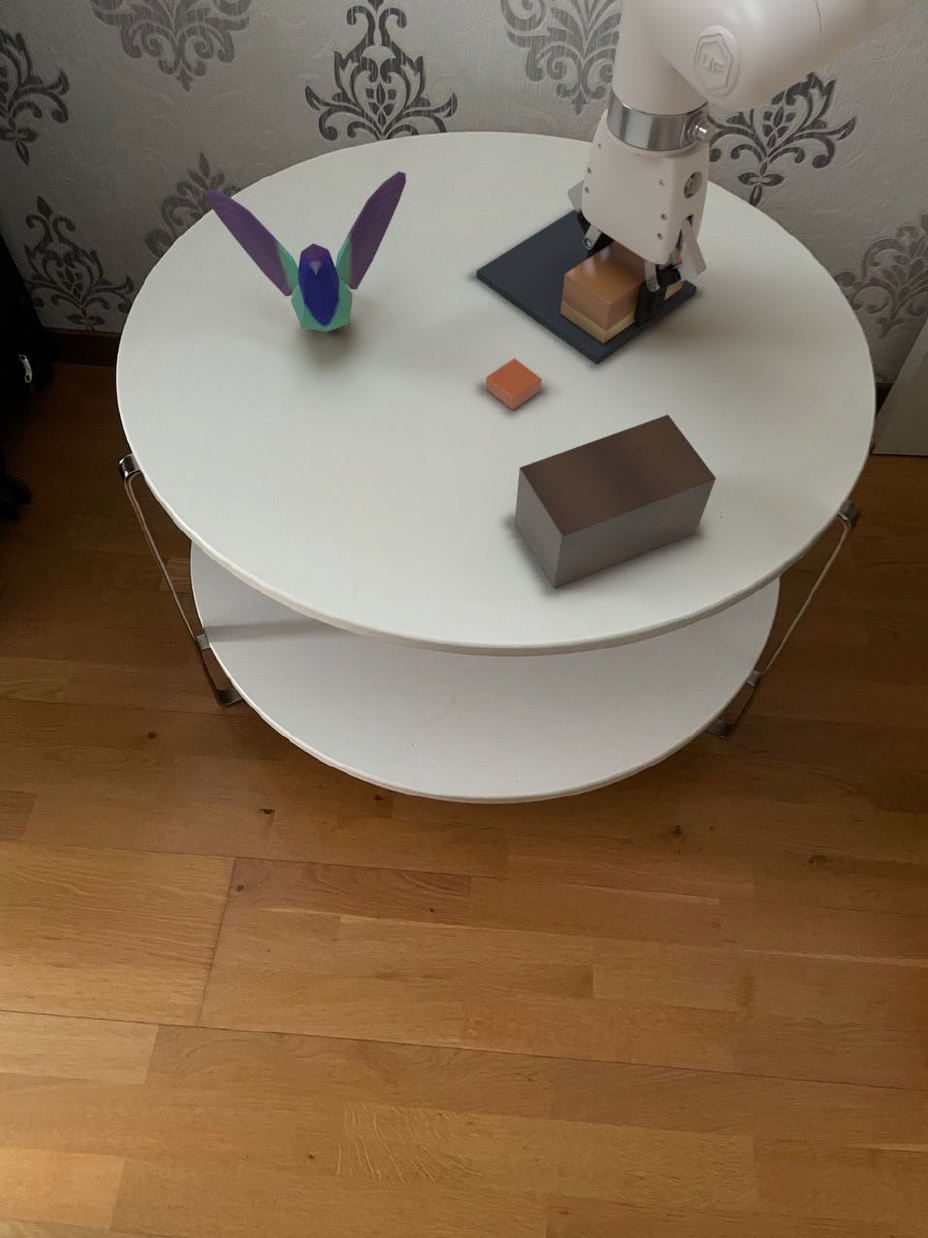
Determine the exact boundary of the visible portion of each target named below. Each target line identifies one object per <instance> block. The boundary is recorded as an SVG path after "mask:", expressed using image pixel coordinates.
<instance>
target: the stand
mask: <svg viewBox="0 0 928 1238" xmlns="http://www.w3.org/2000/svg"><path fill="white" fill-rule="evenodd" d="M698 453H699V452H697V451H696V450H695V448H694V447H693V446H692V444H691V443H690V442H689V440H688V439H687V437H686V436H685V435H684V433H683V432H682V431H681V429H680V428H679V427H678V425H677V424H676V423H675V422H674V420H673V419H672V418H671V416H670V415H669V414H666V415H662V416H660V417H657V418H655V419H651V420H649V421H646V422H644V423H640V424H637V425H635V426H632V427H629V428H627V429H624V430H621V431H618V432H615V433H612V434H609V435H607V436H605V437H601V438H599V439H595V440H593V441H590V442H587V443H584V444H581V445H578V446H576V447H573V448H570V449H567V450H565V451H562V452H559V453H557V454H553V455H551V456H548V457H545V458H543V459H539V460H537V461H533V462H531V463H529V464H526V465H523V466H520V467H519V470H518V480H517V483H518V484H517V492H516V504H515V512H514V513H515V514H514V524H515V526H516V527H517V529H518V531H519V533H520V534H521V535H522V538H523V540H524V541H525V542H526V545H527V546H528V549H530V551H531V553H532V554H533V557H534V558H535V559H536V561H537V563H538V564H539V566H540V568H541V570H542V571H543V573H544V575H545V576H546V578H547V580H548V581H549V583H550V584H551V587H552V588H553V589H556V588H559V587H561V586H564V585H566V584H569V583H572V582H574V581H577V580H580V579H581V578H584V577H587V576H590V575H592V574H594V573H597V572H600V571H602V570H605V569H608V568H611V567H612V566H614V565H617V564H620V563H623V562H625V561H628V560H630V559H633V558H635V557H637V556H640V555H643V554H645V553H648V552H651V551H654V550H656V549H658V548H661V547H664V546H666V545H668V544H671V543H673V542H676V541H679V540H681V539H684V538H687V537H689V536H692V535H694V534H696V533H697V531H698V528H699V525H700V523H701V520H702V518H703V515H704V512H705V509H706V507H707V504H708V502H709V499H710V496H711V493H712V491H713V487H714V486H715V482H716V479H717V477H716V476H715V475H714V473H713V472H712V471H711V469H710V467H708V465H707V463H706V462H704V460H703V458H702V457H701V456H700V455H699V454H698Z"/></svg>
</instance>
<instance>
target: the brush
mask: <svg viewBox="0 0 928 1238" xmlns="http://www.w3.org/2000/svg"><path fill="white" fill-rule="evenodd" d="M675 252H676V264H678V263H680V262H682V261H681V258H680V256H679V253H678V250H677V248H676V246H675ZM661 269H662V265H660V264H659V270H661ZM645 283H646V275H645V265H644V258H642V257H641V256H639V255H638V254H636V253H634V252H633V251H631V250H630V249H628V248H627V247H625V246H623V245H622V244H620V243H619V242H617V241H614V242H613V243H611V244H610V245H608V246H607V247H605V248H604V249H602V250H601V251H599V252H598V253H596V254H595V255H593V256H591V257H590V258H588V259H587V260H585V261H584V262H582V263H581V264H579V265H578V266H576V267H575V268H573V269H572V270H570V271H569V272H567V273H566V274H565V277H564V286H563V294H562V303H561V311H560V313H561V314H562V315H563V316H565V317H566V318H568V319H569V320H570V321H572V322H573V323H575V324H576V325H577V326H579V327H580V328H582V329H583V330H584V331H586V332H587V333H589V334H590V335H591V336H593V337H594V338H596V339H597V340H599V341H600V342H601V343H603V344H604V343H605V342H607V341H608V340H609V339H611V338H612V337H614V336H615V335H617V334H618V333H619V332H621V331H622V330H624V329H625V328H626V327H628V326H629V325H631V324H632V323H633V322H635V320H634V315H635V310H636V305H637V300H638V295H639V290H640V287H641V286H642V285H643V284H645ZM682 284H683V281H678V282H677V283H675V284H672V285H669V286H668V288H667V292H666V296H665V300H666V299H667V298H669V297H670V296H672V295H673V294H674V293H676V292H677V291H679V290H680V289H681V288H682Z"/></svg>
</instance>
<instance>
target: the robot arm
mask: <svg viewBox="0 0 928 1238" xmlns="http://www.w3.org/2000/svg"><path fill="white" fill-rule="evenodd" d="M922 1H923V0H622V4H621V13H620V19H619V26H618V33H617V39H616V40H617V41H616V48H615V55H614V61H613V62H614V63H613V68H612V69H613V70H612V76H611V84H610V92H609V98H608V105H607V108H606V109H605V110H604V111H603V113H602V114H601V118H600V120H599V123H598V125H597V128H596V131H595V133H594V136H593V141H592V143H591V147H590V149H589V154H588V159H587V162H586V166H585V173H584V177H583V178H584V179H582V180H581V181H579V182H578V183H577V184H575V185H573V186H572V187H571V188H569V189H568V190H567V192H566V193H567V194H566V195H567V198H568V199H569V201H570V203H571V205H572V207H573V210H574V209H575V211H576V212H578V214H577V219H578V221H579V224H580V226H581V228H582V230H583V232H584V235H585V237H584V239H583V244H584V246H585V247H586V248H587V249H588V255H587V259H588V258H590V257H591V256H593V255H595V254H596V253H598V252H599V251H601V250H602V249H604V248H605V247H607V246H608V245H610V244H611V243H613V242H614V241H617V242H619V243H620V244H622V245H623V246H625V247H627V248H628V249H630V250H631V251H633V252H634V253H636V254H638V255H639V256H641V257H642V258H644V265H645V275H646V283H645V284H643V285H642V286H641V287H640V290H639V295H638V300H637V305H636V310H635V315H634V320H635V321H636V322H637V323H639V324H640V323H642V322H643V321H645V320H646V319H647V318H649V317H650V316H655V315H656V314H657V313H659V312H660V311H661V309H662V307H663V305H664V301H665V296H666V292H667V288H668V286H669V285H672V284H675V283H677V282H678V281H684V280H687V281H689V280H692V279H695V278H697V277H698V276H700V275H701V274H703V273H704V272H705V271H706V270H707V264H706V262H705V260H704V257H703V253H702V251H701V248H700V246H699V243H698V237H699V233H700V229H701V225H702V220H703V216H704V210H705V204H706V198H707V191H708V183H709V172H710V171H709V169H710V142H711V140H712V139H713V137H714V135H715V133H716V128H717V127H716V125H715V124H712V123H711V122H710V121H709V118H707V116H708V111H709V107H710V104H711V105H713V106H714V107H717V108H718V109H719V110H720V109H721V110H722V111H726V112H729V113H730V112H731V113H742V112H746V111H750V110H753V109H755V108H757V107H759V106H761V105H763V104H765V103H766V102H768V101H769V100H771V99H773V98H774V97H776V96H777V95H780V93H783V92H784V91H786V90H787V89H788V88H791V87H792V86H794V85H795V84H796V83H798V82H799V81H800V80H802V79H803V78H805V77H807V76H808V75H810V74H812V73H813V72H815V71H816V70H819V68H821V67H823V66H824V65H826V64H828V63H830V62H831V61H833V60H834V59H836V58H838V57H839V56H841V55H842V54H844V53H846V52H847V51H848V50H850V49H851V48H853V47H855V46H856V45H858V44H859V43H861V42H863V40H865V39H866V38H868V37H870V36H871V35H873V34H874V33H875V32H877V31H878V30H880V29H881V28H883V27H884V26H886V25H888V24H889V23H891V22H893V21H894V20H895V19H896V18H898V17H900V16H901V15H903V14H904V13H906V12H907V11H909V10H910V9H911V8H914V7H915V6H916V5H918V4H919V3H921V2H922ZM675 246H676V248H677V250H678V253H679V256H680V258H681V261H682V262H680V263H678V264H676V252H675ZM659 264H660V265H662V269H661V270H659Z"/></svg>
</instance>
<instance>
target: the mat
mask: <svg viewBox="0 0 928 1238" xmlns="http://www.w3.org/2000/svg"><path fill="white" fill-rule="evenodd" d="M577 214H578V212H576V211H575V209H574V208H573V210H571V211H570V212H568V213H567V214H565V215H563V216H562V217H560V218H558V219H556V220H555V221H554V222H552V223H550V224H549V225H547V226H546V227H544V228H543V229H541V230H539V231H537V232H536V233H534V234H533V235H531V236H530V237H527V238H526V239H524V240H523V241H522V242H520V243H519V244H517V245H515V246H514V247H512V248H510V249H509V250H507V251H506V252H504V253H502V254H501V255H499V256H498V257H496V258H494V259H492V260H491V261H490V262H488V263H486V264H485V265H483V266H481V267H480V268H479V269H477V270H476V278H477V279H479V280H480V281H482V283H484V284H485V285H487V286H488V287H489V288H491V289H492V290H494V291H495V292H497V293H498V294H499V295H501V296H502V297H503V298H504V299H506V300H508V302H510V303H511V304H513V305H515V306H516V307H517V308H518V309H520V310H521V311H523V312H524V313H526V314H527V315H528V316H530V317H531V318H532V319H534V320H535V321H536V322H538V323H539V324H540V325H542V326H543V327H545V328H546V329H547V330H549V331H550V332H552V333H553V334H554V335H556V336H557V337H558V338H560V339H561V340H562V341H564V342H565V343H566V344H568V345H569V346H571V347H572V348H573V349H575V351H576V350H577V351H578V352H579V353H580V354H582V355H583V356H585V357H586V358H588V359H589V360H590V361H591V362H593V363H594V364H596V365H598V364H599V363H601V362H602V361H603V360H605V359H606V358H607V357H609V356H610V355H612V354H613V353H615V352H616V351H617V350H618V349H620V348H622V347H623V346H625V344H627V343H629V342H630V341H631V340H633V339H634V338H636V337H637V336H638V335H639V334H641V333H642V332H644V331H645V330H646V329H648V328H649V327H651V326H652V325H654V324H655V323H657V322H658V321H659V320H660V319H662V318H663V317H665V316H666V315H668V314H669V313H670V312H672V311H673V310H674V309H676V308H678V306H680V305H682V304H683V303H684V302H685V301H687V300H689V298H691V297H692V296H694V295H695V294H696V293H697V289H698V286H696V285H695V284H693V283H692V282H690V281H689V280H684V281H683V284H682V288H681V289H680V290H679V291H677V292H676V293H674V294H673V295H672V296H670V297H669V298H667V299H666V300H665V301H664V305H663V307H662V309H661V311H660V312H659V313H657V314H656V315H655V316H650V317H649V318H647V319H646V320H645V321H643V322H642V323H640V324H639V323H637V322H636V321H635V322H633V323H632V324H631V325H629V326H628V327H626V328H625V329H624V330H622V331H621V332H619V333H618V334H617V335H615V336H614V337H612V338H611V339H609V340H608V341H607V342H605V343H604V344H603V343H601V342H600V341H599V340H597V339H596V338H594V337H593V336H591V335H590V334H589V333H587V332H586V331H584V330H583V329H582V328H580V327H579V326H577V325H576V324H575V323H573V322H572V321H570V320H569V319H568V318H566V317H565V316H563V315H562V314H561V313H560V311H561V303H562V294H563V286H564V277H565V274H566V273H567V272H569V271H570V270H572V269H573V268H575V267H576V266H578V265H579V264H581V263H582V262H584V261H585V260H587V255H588V249H587V248H586V247H585V246H584V244H583V239H584V237H585V235H584V232H583V230H582V228H581V226H580V224H579V221H578V219H577Z"/></svg>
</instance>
